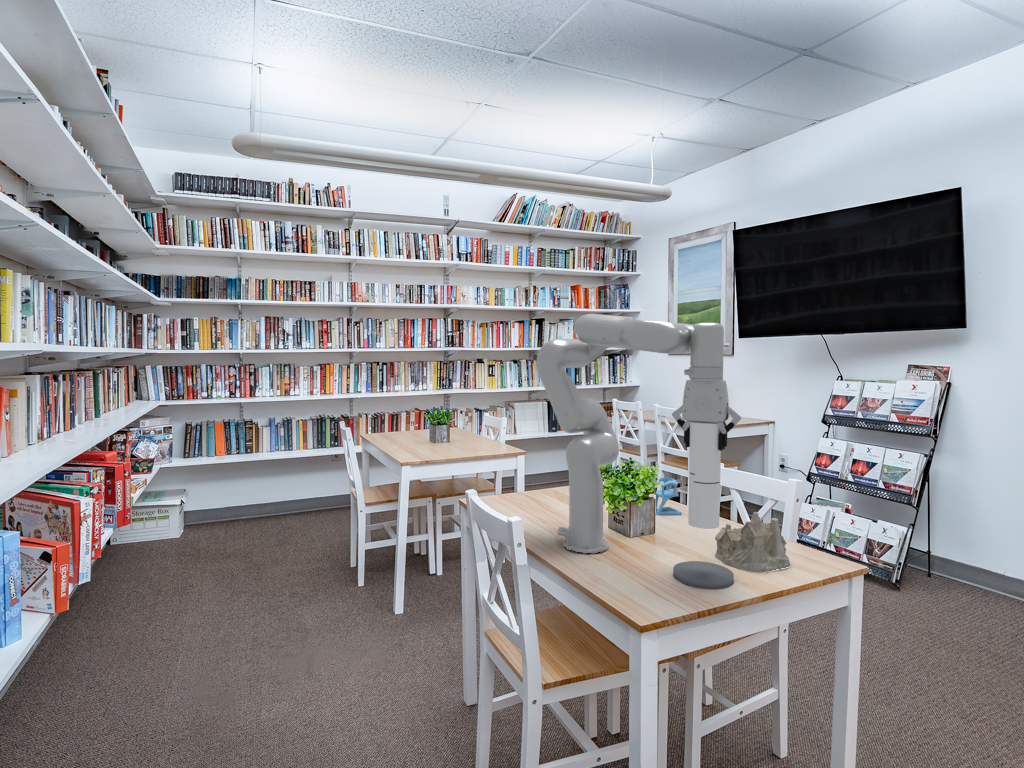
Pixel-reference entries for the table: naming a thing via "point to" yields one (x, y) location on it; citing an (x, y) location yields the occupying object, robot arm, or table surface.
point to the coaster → (703, 575)
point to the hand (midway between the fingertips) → (705, 447)
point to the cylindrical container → (704, 475)
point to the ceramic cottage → (753, 546)
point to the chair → (666, 497)
